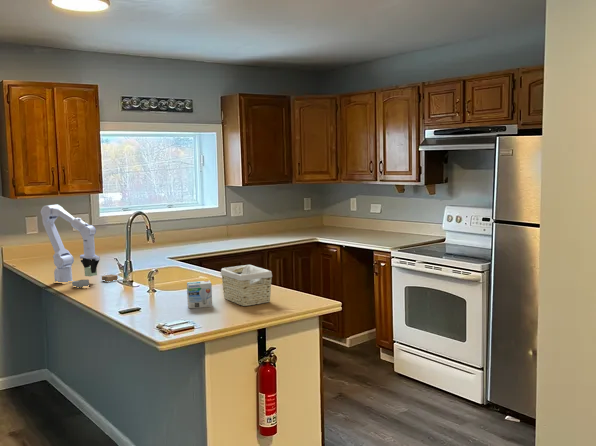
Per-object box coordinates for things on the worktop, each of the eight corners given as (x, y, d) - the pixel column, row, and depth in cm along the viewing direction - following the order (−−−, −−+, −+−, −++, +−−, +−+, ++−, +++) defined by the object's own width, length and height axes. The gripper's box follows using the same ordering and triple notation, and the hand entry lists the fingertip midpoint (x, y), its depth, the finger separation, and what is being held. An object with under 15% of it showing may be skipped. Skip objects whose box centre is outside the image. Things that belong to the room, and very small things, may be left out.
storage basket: (220, 298, 277) (219, 267, 276) (251, 293, 285) (250, 263, 284) (241, 308, 256) (240, 275, 255) (274, 302, 265) (273, 270, 263)
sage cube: (84, 275, 319) (84, 267, 318) (91, 274, 323) (91, 266, 322) (90, 276, 316) (89, 268, 316) (97, 275, 320) (96, 266, 320)
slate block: (72, 288, 310) (72, 281, 310) (82, 286, 315) (81, 279, 315) (79, 288, 307) (79, 281, 306) (89, 286, 312) (88, 279, 311)
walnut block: (102, 282, 325) (101, 276, 324) (111, 280, 329) (111, 274, 329) (108, 283, 321) (108, 277, 321) (117, 281, 326) (117, 275, 325)
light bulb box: (188, 308, 258) (187, 284, 257) (187, 305, 265) (186, 282, 263) (213, 306, 261) (211, 282, 260) (210, 303, 268) (209, 280, 266)
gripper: (104, 247, 317) (105, 272, 319) (86, 245, 325) (88, 270, 327) (93, 249, 311) (94, 274, 313) (75, 247, 319) (77, 272, 321)
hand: (90, 272), depth 319 cm, fingers closed on sage cube, 4 cm apart
